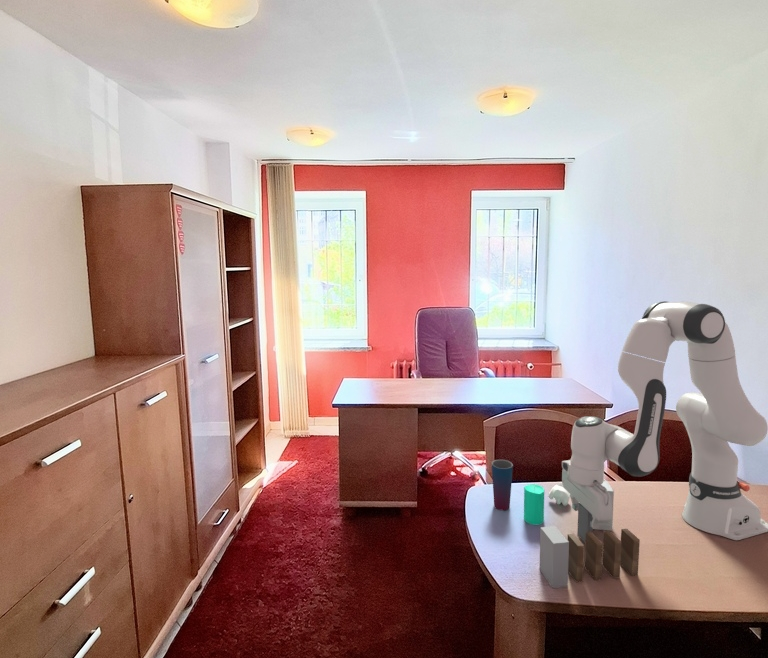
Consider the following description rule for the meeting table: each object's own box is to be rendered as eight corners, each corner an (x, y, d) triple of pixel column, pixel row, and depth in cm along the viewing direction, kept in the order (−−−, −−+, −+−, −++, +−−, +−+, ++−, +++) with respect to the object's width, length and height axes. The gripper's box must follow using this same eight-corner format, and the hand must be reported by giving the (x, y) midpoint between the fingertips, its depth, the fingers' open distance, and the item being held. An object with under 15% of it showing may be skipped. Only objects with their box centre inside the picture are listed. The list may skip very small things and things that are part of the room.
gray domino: (582, 533, 133) (583, 502, 132) (592, 544, 128) (593, 511, 127) (577, 534, 133) (578, 502, 131) (586, 544, 128) (588, 512, 126)
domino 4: (625, 563, 120) (627, 528, 118) (637, 575, 115) (639, 539, 113) (619, 563, 119) (621, 529, 118) (632, 576, 114) (633, 540, 113)
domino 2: (590, 566, 118) (591, 531, 117) (601, 579, 114) (602, 543, 112) (584, 567, 118) (585, 532, 117) (595, 580, 113) (596, 544, 112)
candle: (524, 523, 139) (525, 487, 137) (523, 513, 145) (523, 478, 143) (544, 525, 137) (545, 489, 136) (542, 515, 143) (543, 480, 142)
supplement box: (612, 531, 134) (614, 491, 132) (586, 529, 135) (587, 489, 134) (605, 517, 141) (607, 480, 139) (580, 515, 142) (582, 478, 141)
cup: (496, 499, 154) (497, 457, 152) (515, 505, 150) (516, 462, 148) (487, 507, 149) (488, 464, 147) (507, 514, 144) (507, 470, 142)
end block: (553, 567, 118) (555, 525, 117) (567, 586, 112) (568, 542, 110) (539, 569, 118) (540, 527, 116) (552, 588, 111) (553, 543, 109)
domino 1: (572, 568, 118) (573, 533, 117) (582, 581, 113) (584, 545, 112) (566, 569, 118) (567, 534, 116) (576, 582, 113) (578, 546, 111)
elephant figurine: (548, 495, 155) (549, 479, 154) (573, 500, 152) (574, 484, 151) (546, 505, 149) (546, 488, 148) (572, 510, 146) (572, 493, 145)
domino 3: (607, 564, 119) (609, 530, 118) (619, 577, 114) (621, 541, 113) (602, 565, 119) (603, 530, 117) (613, 578, 114) (615, 542, 113)
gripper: (619, 490, 118) (617, 538, 120) (578, 457, 138) (576, 499, 140) (597, 491, 117) (595, 540, 119) (558, 459, 137) (557, 501, 139)
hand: (584, 518), depth 129 cm, fingers open, 8 cm apart
